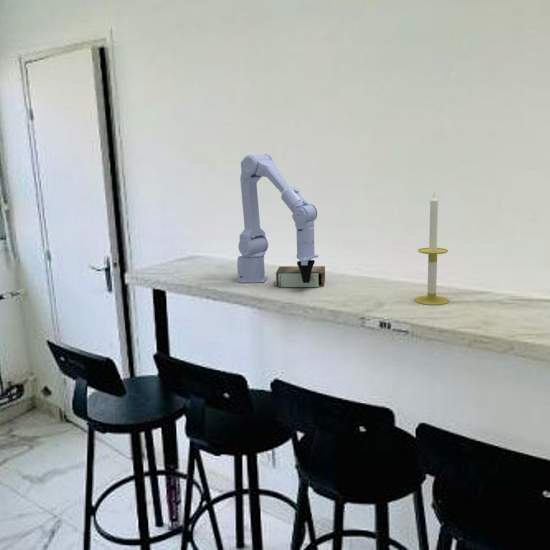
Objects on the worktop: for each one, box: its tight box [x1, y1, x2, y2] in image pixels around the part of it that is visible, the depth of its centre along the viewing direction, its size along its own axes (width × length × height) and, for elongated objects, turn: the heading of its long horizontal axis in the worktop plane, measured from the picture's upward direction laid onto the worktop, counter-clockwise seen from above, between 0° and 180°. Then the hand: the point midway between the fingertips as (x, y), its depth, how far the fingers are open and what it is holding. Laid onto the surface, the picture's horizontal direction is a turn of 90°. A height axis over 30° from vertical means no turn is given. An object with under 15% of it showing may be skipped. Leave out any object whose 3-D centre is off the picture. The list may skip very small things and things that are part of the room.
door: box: [278, 273, 320, 288], centre depth 201 cm, size 13×2×4 cm, turn 83°
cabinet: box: [275, 265, 326, 288], centre depth 207 cm, size 16×10×5 cm, turn 83°
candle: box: [414, 191, 450, 306], centre depth 176 cm, size 10×10×32 cm
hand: (306, 282), depth 199 cm, fingers closed
